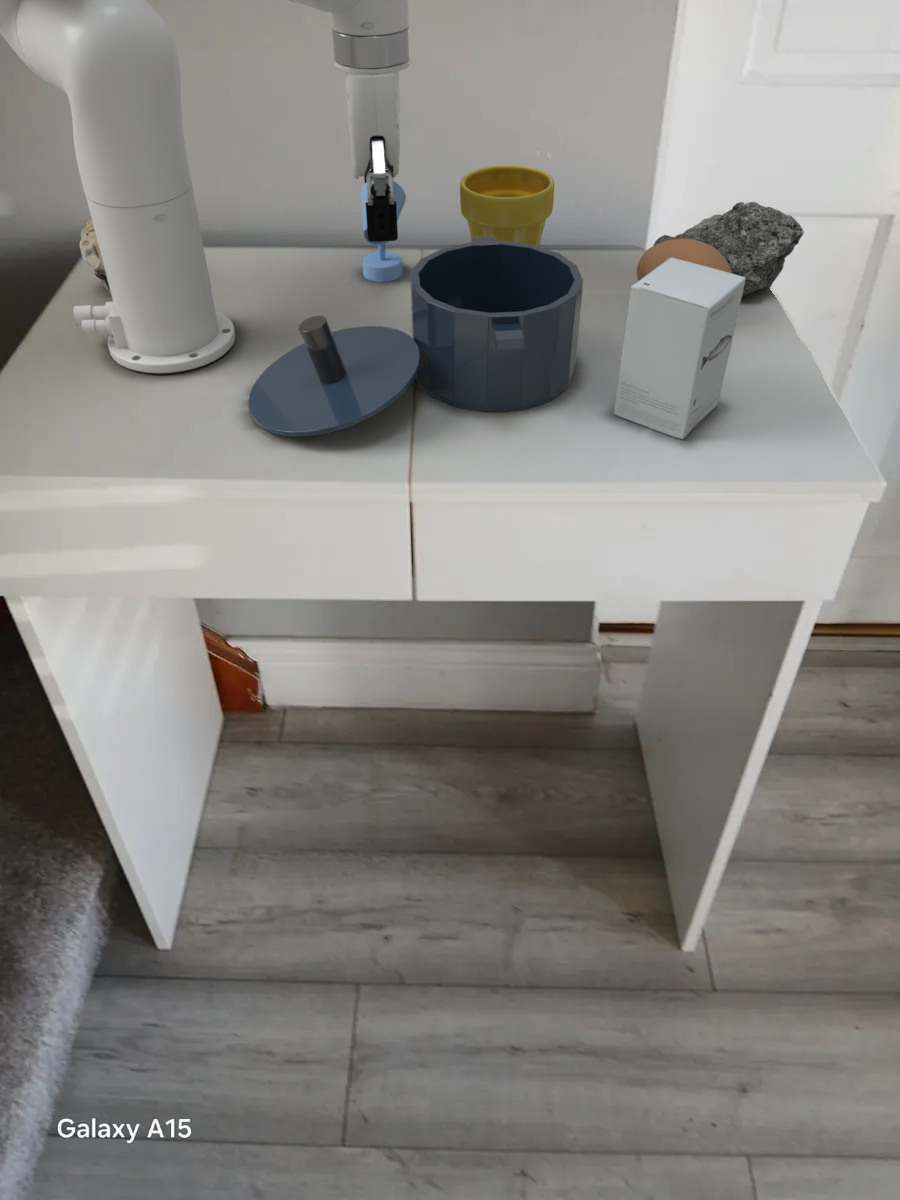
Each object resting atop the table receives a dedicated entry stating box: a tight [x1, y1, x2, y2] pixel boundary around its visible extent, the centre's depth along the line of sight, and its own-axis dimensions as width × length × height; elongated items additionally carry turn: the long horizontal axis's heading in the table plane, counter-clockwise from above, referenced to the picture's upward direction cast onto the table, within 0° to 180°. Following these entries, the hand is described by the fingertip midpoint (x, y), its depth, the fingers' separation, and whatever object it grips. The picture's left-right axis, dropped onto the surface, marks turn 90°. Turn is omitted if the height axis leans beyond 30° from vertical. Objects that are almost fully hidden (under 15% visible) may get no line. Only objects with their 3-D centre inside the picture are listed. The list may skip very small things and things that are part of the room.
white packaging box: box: [612, 258, 746, 440], centre depth 84 cm, size 7×7×13 cm
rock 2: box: [652, 201, 805, 297], centre depth 107 cm, size 13×13×10 cm
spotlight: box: [361, 180, 407, 283], centre depth 107 cm, size 5×10×7 cm
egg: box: [636, 238, 732, 282], centre depth 101 cm, size 8×8×11 cm
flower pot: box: [459, 164, 555, 247], centre depth 108 cm, size 10×10×10 cm
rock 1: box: [79, 215, 111, 294], centre depth 107 cm, size 9×7×10 cm
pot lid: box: [247, 315, 421, 437], centre depth 87 cm, size 17×17×7 cm
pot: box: [409, 237, 584, 413], centre depth 91 cm, size 16×21×10 cm
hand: (381, 222), depth 107 cm, fingers open, 8 cm apart
